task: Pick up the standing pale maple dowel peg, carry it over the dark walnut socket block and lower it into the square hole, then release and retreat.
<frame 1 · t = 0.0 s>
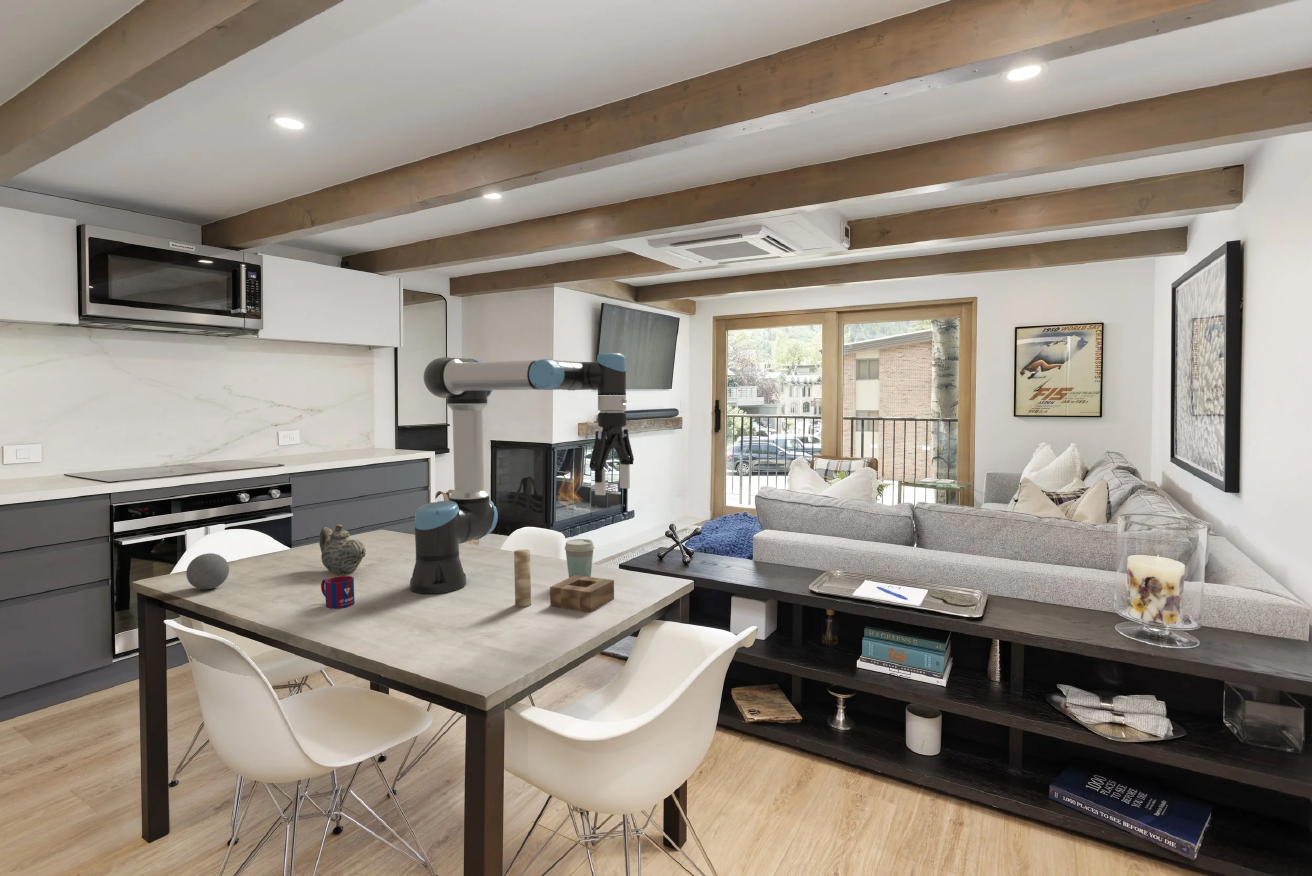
hand: (612, 491, 177), 28 cm above the table, fingers open, 13 cm apart
cup: (336, 604, 172), on the table
teapot: (341, 572, 204), on the table
coffee cup: (580, 583, 190), on the table
decorative ball: (208, 589, 186), on the table
peg: (523, 604, 170), on the table
socket: (582, 602, 172), on the table
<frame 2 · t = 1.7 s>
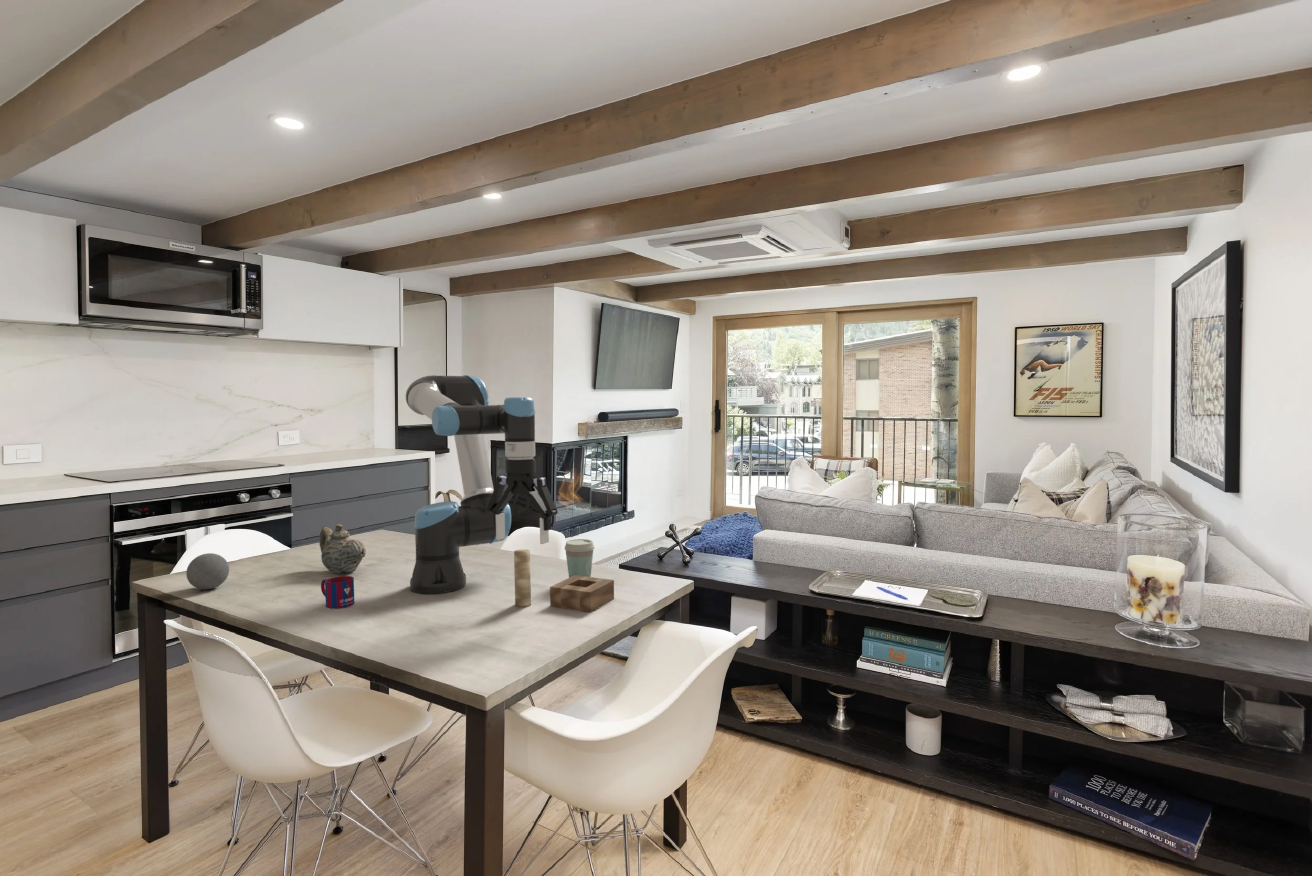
hand: (522, 541, 169), 17 cm above the table, fingers open, 13 cm apart
nothing on the table moved.
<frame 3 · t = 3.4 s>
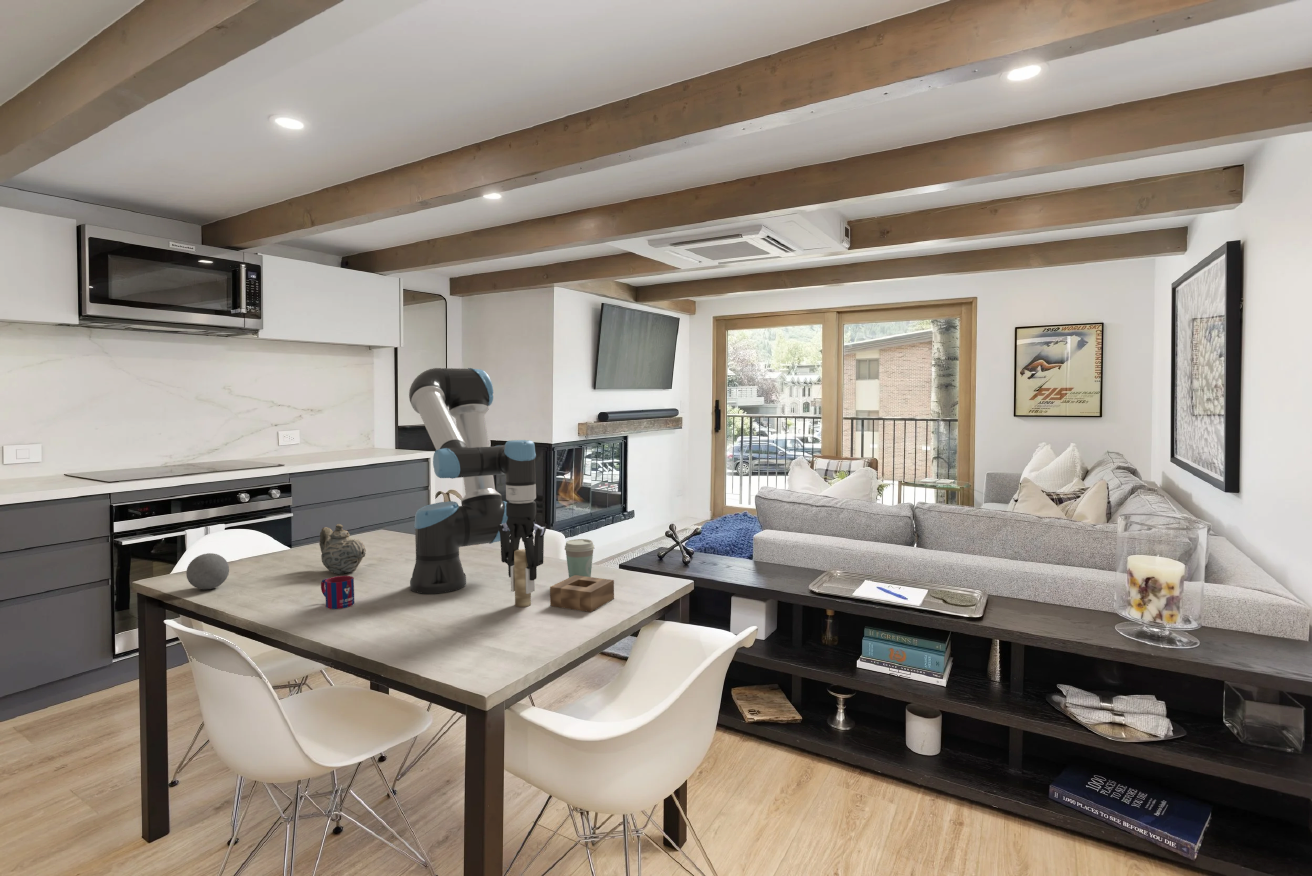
hand: (522, 590, 170), 4 cm above the table, fingers closed on peg, 4 cm apart
peg: (523, 604, 170), on the table, touching gripper
everything else where it was.
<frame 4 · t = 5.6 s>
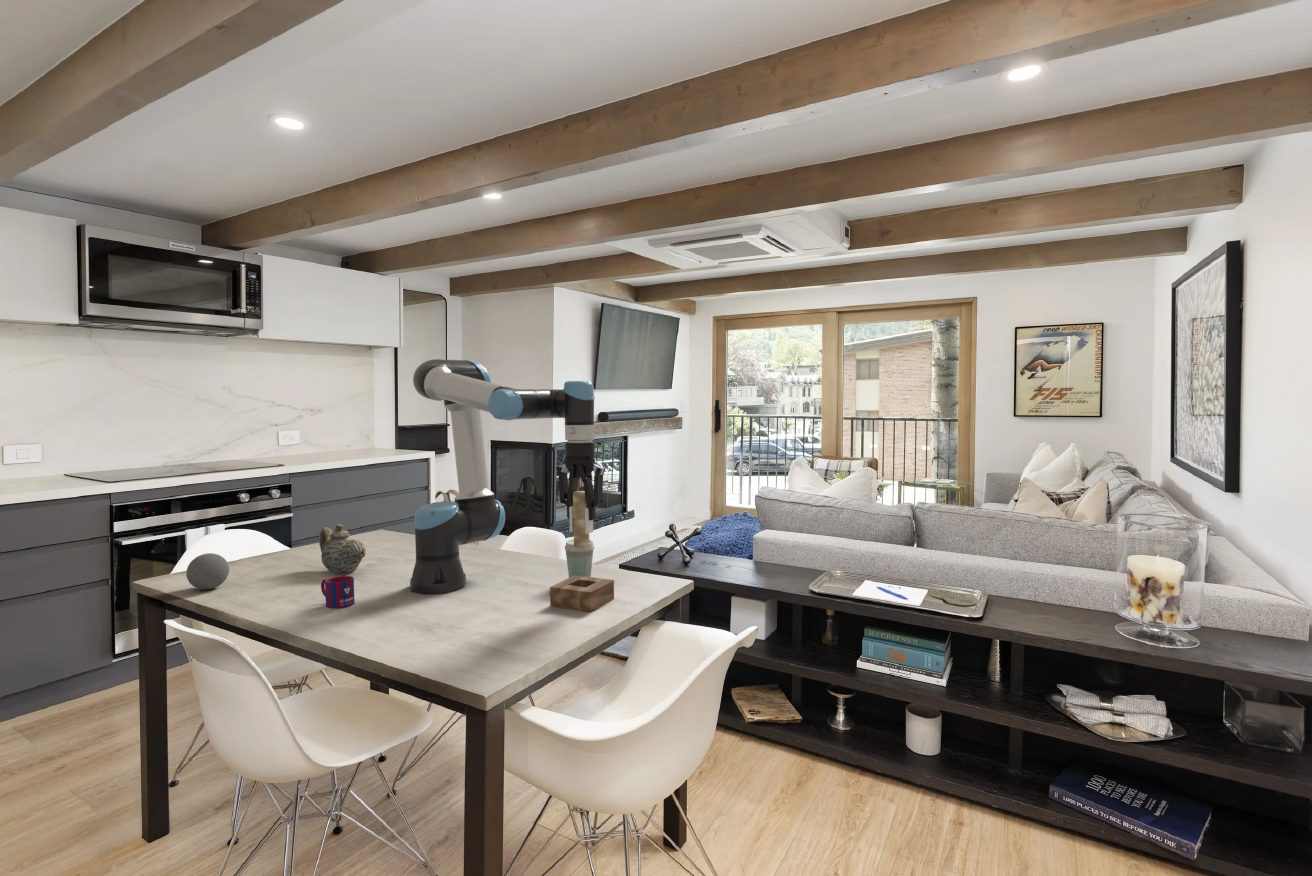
hand: (581, 531, 171), 19 cm above the table, fingers closed on peg, 4 cm apart
peg: (581, 545, 171), point 15 cm above the table, touching gripper
everything else where it was.
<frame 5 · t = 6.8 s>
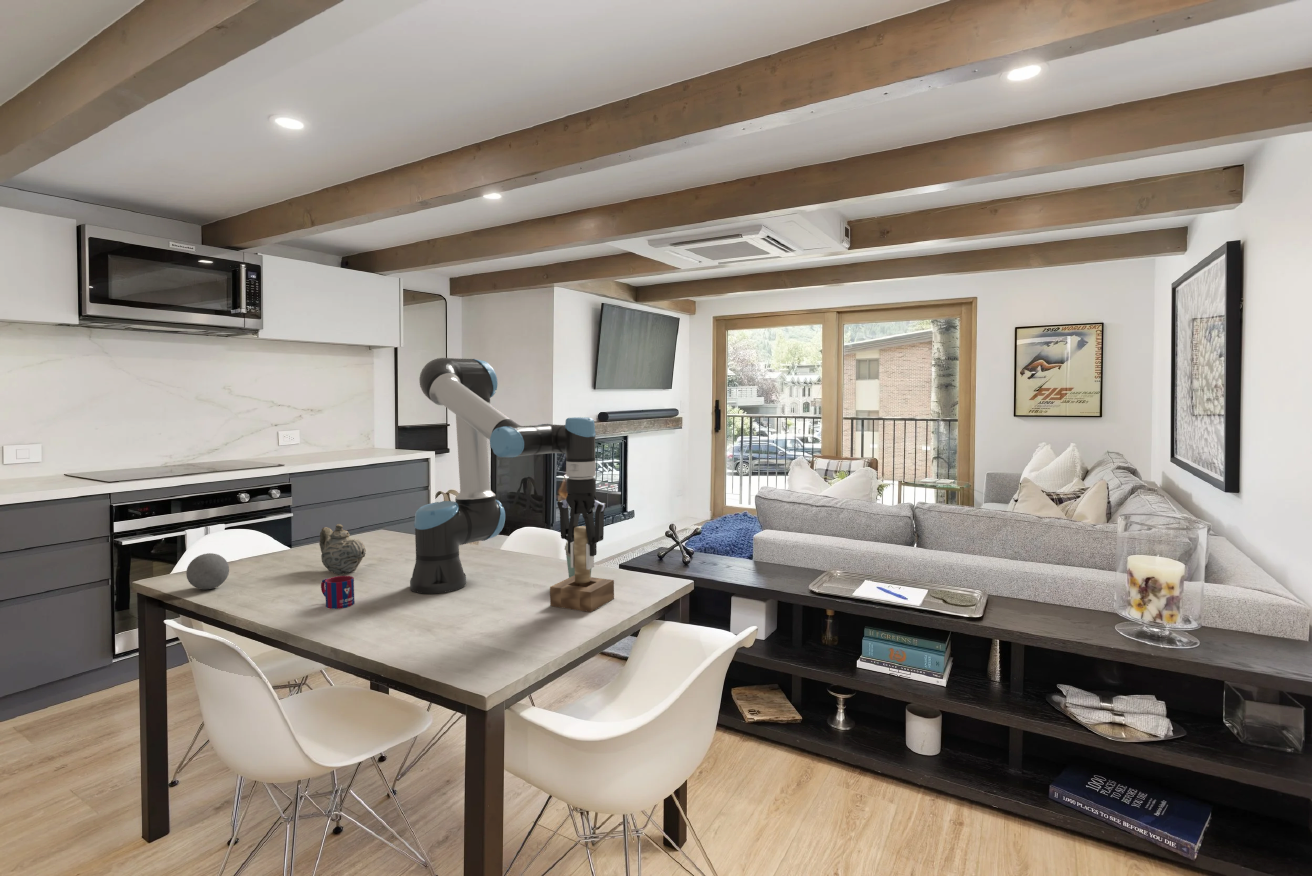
hand: (582, 567, 171), 9 cm above the table, fingers closed on peg, 4 cm apart
peg: (582, 581, 172), point 6 cm above the table, touching gripper
everything else where it was.
when the fingers open (6 cm above the table, at t = 7.6 s): peg drops 2 cm, resting in socket.
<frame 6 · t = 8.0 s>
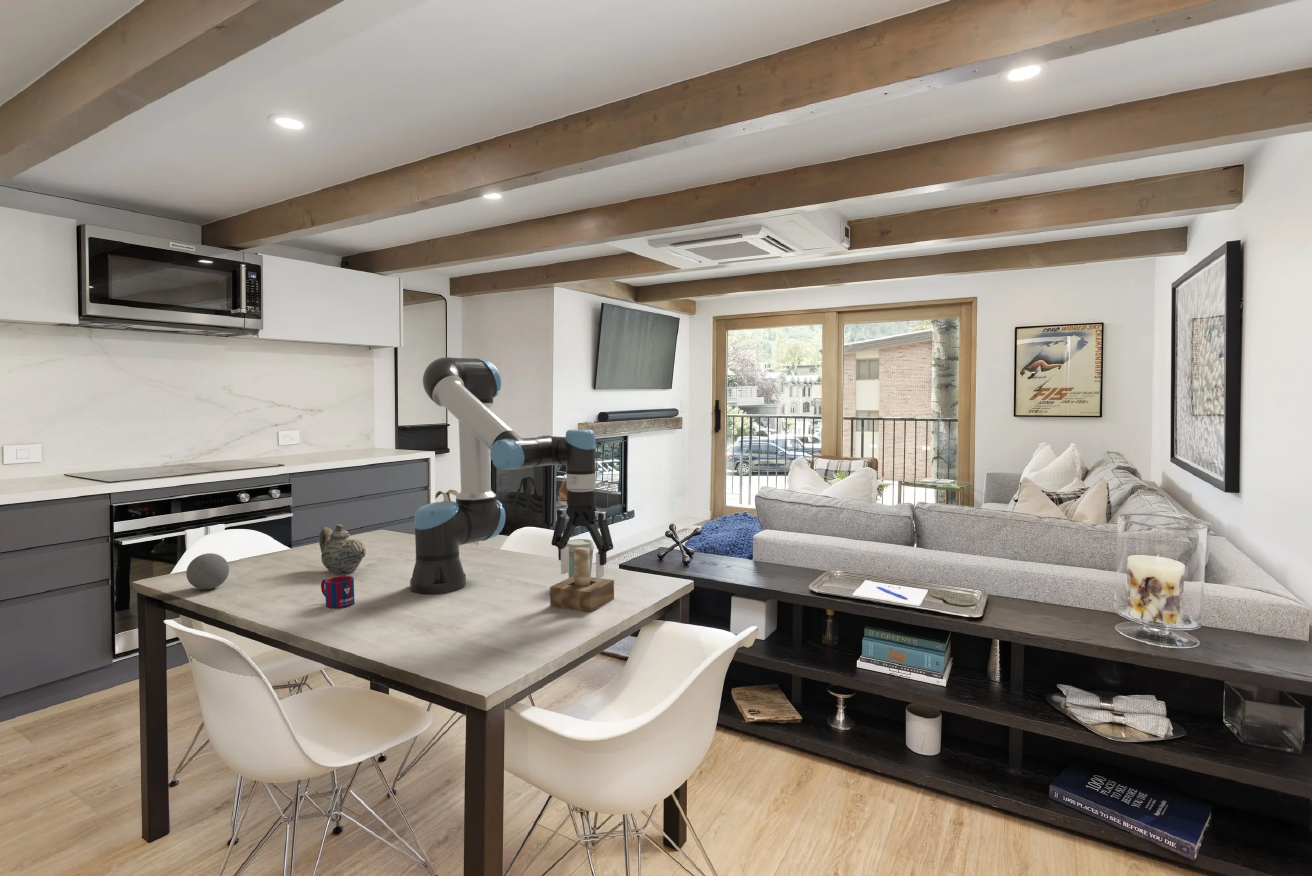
hand: (582, 575, 172), 7 cm above the table, fingers open, 10 cm apart
peg: (582, 602, 172), resting in socket
everything else where it was.
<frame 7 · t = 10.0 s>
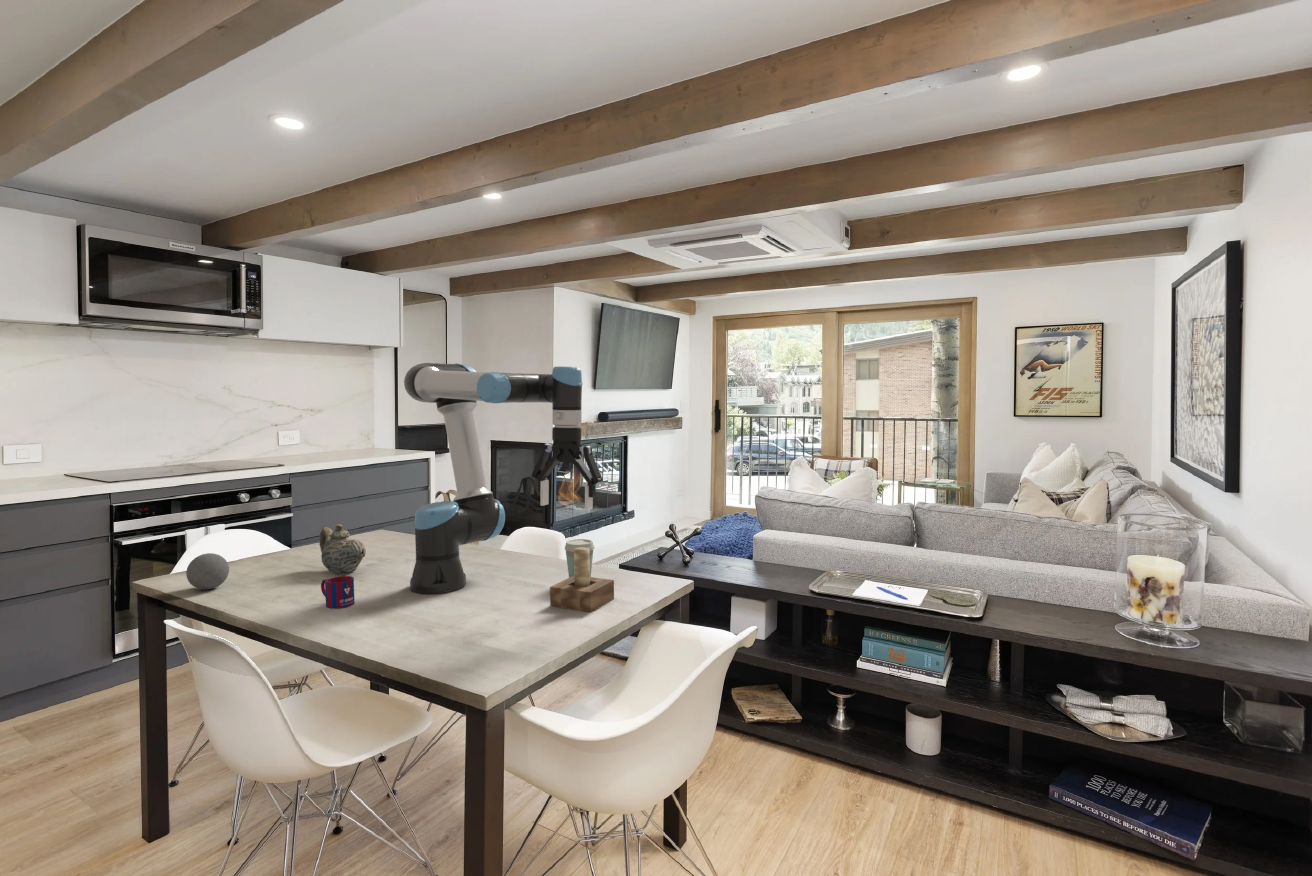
hand: (566, 507, 173), 24 cm above the table, fingers open, 13 cm apart
nothing on the table moved.
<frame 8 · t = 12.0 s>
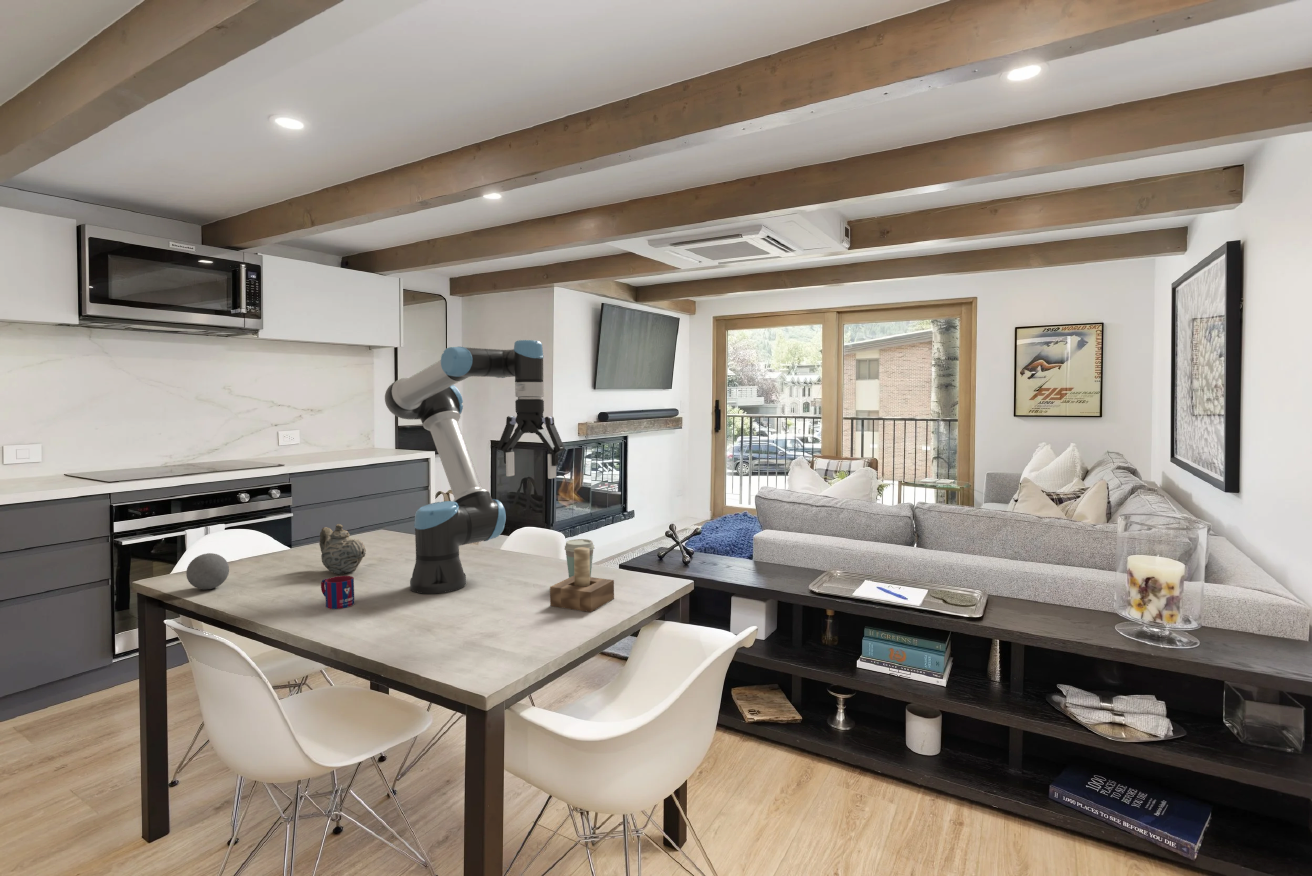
hand: (531, 477, 179), 32 cm above the table, fingers open, 13 cm apart
nothing on the table moved.
at the end: peg 0.1 cm off-centre on the socket, point 0.0 cm above the socket's base; peg tilted 0°; the gripper is holding nothing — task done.
